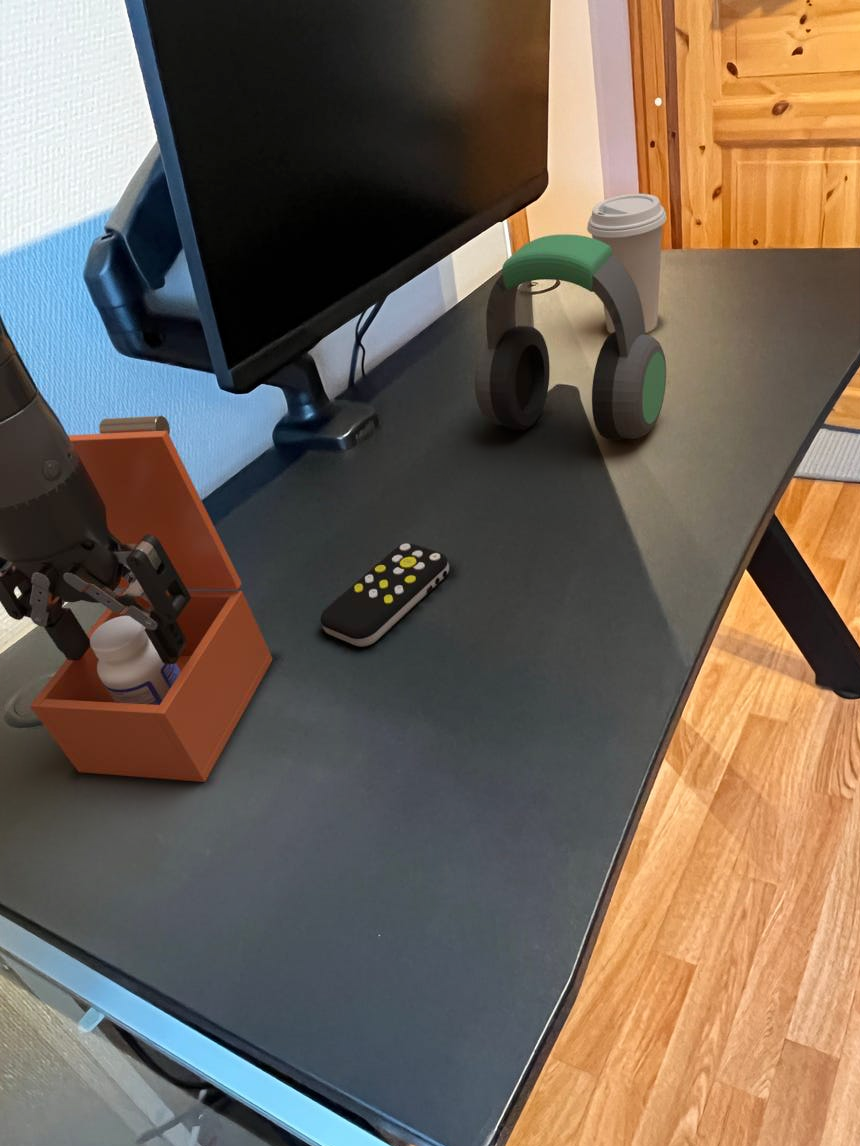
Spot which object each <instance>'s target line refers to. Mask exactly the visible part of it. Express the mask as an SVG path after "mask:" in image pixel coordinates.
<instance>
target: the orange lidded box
mask: <svg viewBox="0 0 860 1146" xmlns="http://www.w3.org/2000/svg"><path fill="white" fill-rule="evenodd" d="M187 590H188V592H189V594H190V596H191V600H190V601H189V602H188V604H187V605H186V607H185V608H184V610H183V611H182V612H181V614H180V615H179V617H178V618H177V620H176V621H177V623H178V625H179V626H180V628H181V631H182V632H183V635H184V636H185V638H186V640H187V645H186V647H185V649H184V651H183V653H182V654H181V656H180V657H179V659H178V660H177V662H176V664H177V666H178V667H179V669H180V671H181V673H180V674H179V676H178V677H177V679H176V681H175V682H174V684H173V685H172V687H171V688H170V690H169V691H168V693H167V694H166V696H165V697H164V699H163V701H162V702H161V704H160V705H149V704H130V703H116V702H115V701H114V699H113V698H112V696H111V695H110V693H109V692H108V690H107V689H106V687H105V686H104V684H103V683H102V681H101V679H100V678H99V675H98V672H97V664H98V661H99V659H98V658H97V657H96V655H95V653H94V651H93V649H92V647H91V645H90V647H89V649H88V650H87V651H86V653H85V654H84V655H83V656H82V658H81V659H80V660H78V661H75V660H68V659H67V658H66V660H64V662H63V663H62V664H61V666H60V667H59V668H58V669H57V670H56V672H55V673H54V674H53V676H52V677H51V678H50V679H49V681H48V682H47V684H46V685H45V686H44V687H43V688H42V690H41V691H40V692H39V693H38V695H37V696H36V697H35V698H34V700H33V701H32V702H31V704H30V705H29V707H30V709H31V710H32V711H33V712H34V714H35V715H36V716H37V718H38V720H40V722H41V723H42V725H43V726H44V728H45V729H46V730H47V732H49V734H50V735H51V737H52V738H53V739H54V741H55V742H56V743H57V745H58V747H60V749H61V750H62V752H63V753H64V754H65V756H66V757H67V758H68V759H69V761H70V762H71V764H72V766H74V767H75V769H76V770H77V772H79V773H87V774H97V775H99V774H100V775H110V776H114V775H115V776H123V777H125V776H126V777H136V778H149V779H150V778H151V779H160V780H161V779H162V780H172V781H173V780H174V781H187V782H197V783H199V782H200V783H206V782H207V779H208V777H209V775H210V774H211V771H212V770H213V768H214V767H215V765H216V764H217V762H218V760H219V758H220V756H221V754H222V752H223V750H224V748H225V746H226V745H227V743H228V741H229V740H230V738H231V736H232V734H233V732H234V730H235V729H236V727H237V725H238V723H239V721H240V720H241V719H242V716H243V714H244V713H245V710H246V709H247V707H248V705H249V703H250V702H251V700H252V698H253V696H254V694H255V692H256V690H257V688H259V685H260V683H261V681H262V679H263V678H264V676H265V674H266V672H267V670H268V669H269V667H270V666H271V663H272V661H273V660H274V659H273V657H272V654H271V652H270V649H269V647H268V645H267V643H266V641H265V639H264V637H263V635H262V632H261V630H260V628H259V624H258V623H257V621H256V619H255V616H254V615H253V612H252V610H251V608H250V605H249V603H248V600H247V599H246V596H245V594H244V593H243V591H242V590H205V589H187ZM126 591H127V589H121V590H120V591H119V592H118V593H117V594H118V595H124V593H125V592H126ZM166 594H167V596H169V595H170V594H169V592H168V590H167V591H166ZM136 602H137V603H139V604H140V605H141V606H143V607H144V608H146V609H147V610H148V609H149V608H150V607H151V605H152V604H150V603H149V602H147V601H146V600H145V599H143V598H142V597H141V596H137V597H136ZM120 616H129V615H127V614H116V613H114V612H113V611H111V610H110V609H109V608H107V607H106V609H105V610H104V611H103V612H102V613H101V615H100V616H99V618H98V619H97V620H96V621H95V622H94V624H93V625H92V626H91V627H90V629H89V630H88V631H87V632H86V635H87V636H88V638H89V639H90V638H91V636H92V634H93V632H94V631H95V630H96V629H97V628H98V627H99V626H100V625H102V624H103V623H105V622H107V621H109V620H111V619H113V618H116V617H120ZM145 628H146V627H145Z"/></svg>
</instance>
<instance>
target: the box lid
mask: <svg viewBox="0 0 860 1146" xmlns="http://www.w3.org/2000/svg"><path fill="white" fill-rule="evenodd" d="M98 430H99V433H85V434H67V435H68V437H69V439H70V440H71V442H72V444H73V446H74V448H75V450H76V452H77V453H78V455H79V457H80V459H81V461H82V463H83V465H84V466H85V468H86V470H87V472H88V474H89V476H90V478H91V479H92V481H93V483H94V485H95V487H96V489H97V491H98V492H99V494H100V496H101V498H102V500H103V502H104V504H105V507H106V520H107V527H108V529H109V531H110V532H111V533H112V534H113V535H114V536H115V537H116V538H117V539H118V540H119V541H120V542H121V543H122V544H135V543H139V542H140V541H141V540H142V539H143V537H144V536H145V535H148V534H149V535H153V536H155V537H156V538H157V539H158V540H159V541H160V543H161V545H162V547H163V548H164V550H165V552H166V554H167V555H168V557H169V559H170V561H171V562H172V564H173V566H174V568H175V569H176V571H177V573H178V575H179V576H180V578H181V580H182V582H183V583H184V585H185V587H186V589H187V590H239V588H241V585H242V580H241V578H240V577H239V575H238V572H237V571H236V568H235V567H234V564H233V562H232V559H231V557H230V556H229V554H228V552H227V550H226V548H225V546H224V544H223V542H222V540H221V538H220V536H219V534H218V532H217V530H216V527H215V525H214V524H213V522H212V519H211V517H210V515H209V513H208V512H207V509H206V507H205V505H204V503H203V501H202V500H201V499H202V498H201V497H200V495H199V492H198V491H197V489H196V486H195V485H194V483H193V480H192V479H191V477H190V474H189V473H188V470H187V469H186V466H185V465H184V462H183V460H182V458H181V456H180V454H179V452H178V451H177V448H176V446H175V443H174V442H173V439H172V438H171V436H170V434H171V433H170V432H171V427H170V424H169V420H168V419H167V418H166V417H165V416H163V415H148V416H147V415H146V416H127V417H108V418H103V419H102V420H101V421H100V423H99V427H98ZM128 588H129V583H128V581H127V580H126V579H124V578H123V577H122V576H121V580H120V583H119V585H118V586H117V588H116V589H128Z"/></svg>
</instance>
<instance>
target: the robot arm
mask: <svg viewBox="0 0 860 1146" xmlns="http://www.w3.org/2000/svg"><path fill="white" fill-rule="evenodd" d="M68 435H69V434H68V433H67V431H66V429H65V428H64V426H63V424H62V422H61V421H60V419H59V417H58V416H57V413H56V412H55V411H54V410H53V408H52V407H51V406H50V404H49V403H48V401H47V400H46V399H45V397H44V396H43V394H42V393H41V391H40V389H39V387H37V384H36V383H35V381H34V379H33V377H32V375H31V373H30V371H29V369H28V368H27V366H26V364H25V362H24V360H23V359H22V356H21V354H20V353H19V351H18V349H17V347H16V346H15V343H14V341H13V340H12V337H11V336H10V334H9V332H8V329H7V327H6V326H5V323H4V320H3V318H2V315H1V314H0V604H1V606H2V607H3V608H4V610H5V612H6V613H7V615H8V617H10V618H12V619H13V620H17V621H21V620H23V618H24V617H26V618H29V619H31V621H32V623H33V624H34V625H36V626H38V627H41V628H44V630H45V631H46V633H47V634H48V636H49V637H50V639H51V640H52V642H53V643H54V645H55V646H56V648H57V649H58V651H60V652H61V653H62V654H63V655H64V657H65V658H66V659H68V660H75V661H78V660H80V659H81V658H82V656H83V655H84V654H85V653H86V651H87V650H88V649H89V647H90V639H89V638H88V636H87V635H86V634H87V632H86V631H85V630H84V628H83V627H82V625H81V623H80V622H79V620H78V618H77V617H76V615H75V614H74V612H73V611H72V609H71V608H70V607H64V605H65V603H77V602H80V601H83V602H88V603H92V604H101V605H103V606H104V607H105V608H106V609H107V608H109V609H110V610H111V611H113V612H114V613H116V614H127V615H129V616H130V617H131V618H133V619H134V620H136V621H137V622H138V623H140V624H141V625H143V626H144V627H146V628H145V632H146V634H147V635H148V637H149V639H150V641H151V642H152V644H153V646H154V648H155V650H156V651H157V653H158V655H159V657H160V658H161V660H162V662H163V663H164V664H175V663H176V662H177V660H178V659H179V657H180V656H181V654H182V653H183V651H184V649H185V647H186V645H187V640H186V638H185V636H184V635H183V632H182V631H181V628H180V626H179V625H178V623H177V621H176V620H177V618H178V617H179V615H180V614H181V612H182V611H183V610H184V608H185V607H186V605H187V604H188V602H189V601H190V600H191V596H190V594H189V592H188V590H189V589H186V587H185V585H184V583H183V582H182V580H181V578H180V576H179V575H178V573H177V571H176V569H175V568H174V566H173V564H172V562H171V561H170V559H169V557H168V555H167V554H166V552H165V550H164V548H163V547H162V545H161V543H160V541H159V540H158V539H157V538H156V537H155V536H153V535H149V534H148V535H145V536H144V537H143V539H142V540H141V541H140V542H139V543H135V544H122V543H121V542H120V541H119V540H118V539H117V538H116V537H115V536H114V535H113V534H112V533H111V532H110V531H109V529H108V527H107V520H106V507H105V504H104V502H103V500H102V498H101V496H100V494H99V492H98V491H97V489H96V487H95V485H94V483H93V481H92V479H91V478H90V476H89V474H88V472H87V470H86V468H85V466H84V465H83V463H82V461H81V459H80V457H79V455H78V453H77V452H76V450H75V448H74V446H73V444H72V442H71V440H70V439H69V437H68ZM121 576H122V577H123V578H124V579H126V580H127V581H128V583H129V588H126V590H127V591H126V592H125V593H124V595H118V594H119V593H116V592H115V591H116V589H118V588H117V586H118V585H119V583H120V580H121ZM16 588H17V590H19V592H20V595H19V596H18V597H17V595H16V593H15V590H16ZM167 590H168V592H169V594H170V595H169V596H167V594H166V591H167ZM137 596H141V597H142V598H143V599H145V600H146V601H147V602H149V603H150V604H152V605H151V607H150V608H149V609H148V610H147V609H146V608H144V607H143V606H141V605H140V604H139V603H137V602H136V597H137Z"/></svg>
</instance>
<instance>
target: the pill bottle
mask: <svg viewBox="0 0 860 1146" xmlns="http://www.w3.org/2000/svg"><path fill="white" fill-rule="evenodd" d="M90 645H91V647H92V649H93V651H94V653H95V655H96V657H97V658H98V659H99V661H98V664H97V672H98V675H99V678H100V679H101V681H102V683H103V684H104V686H105V687H106V689H107V690H108V692H109V693H110V695H111V696H112V698H113V699H114V701H115V702H116V703H130V704H149V705H160V704H161V702H162V701H163V699H164V697H165V696H166V694H167V693H168V691H169V690H170V688H171V687H172V685H173V684H174V682H175V681H176V679H177V677H178V676H179V674H180V673H181V671H180V669H179V667H178V666H177V664H176V663H175V664H164V663H163V662H162V660H161V658H160V657H159V655H158V653H157V651H156V650H155V648H154V646H153V644H152V642H151V641H150V639H149V637H148V635H147V634H146V632H145V627H144V626H143V625H141V624H140V623H138V622H137V621H136V620H134V619H133V618H131V617H130V616H120V617H116V618H113V619H111V620H109V621H107V622H105V623H103V624H102V625H100V626H99V627H98V628H97V629H96V630H95V631H94V632H93V634H92V636H91V638H90Z"/></svg>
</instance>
